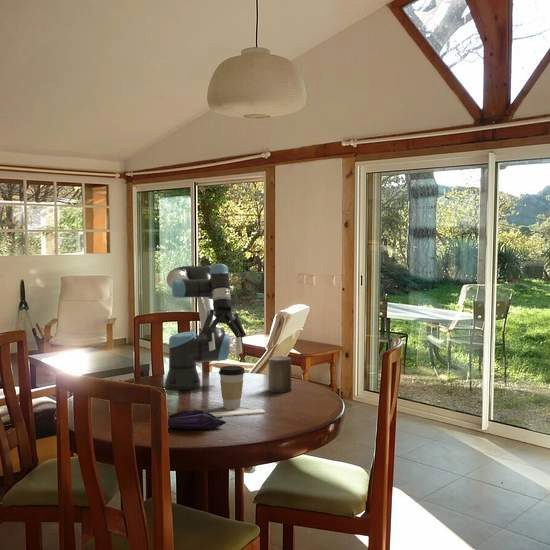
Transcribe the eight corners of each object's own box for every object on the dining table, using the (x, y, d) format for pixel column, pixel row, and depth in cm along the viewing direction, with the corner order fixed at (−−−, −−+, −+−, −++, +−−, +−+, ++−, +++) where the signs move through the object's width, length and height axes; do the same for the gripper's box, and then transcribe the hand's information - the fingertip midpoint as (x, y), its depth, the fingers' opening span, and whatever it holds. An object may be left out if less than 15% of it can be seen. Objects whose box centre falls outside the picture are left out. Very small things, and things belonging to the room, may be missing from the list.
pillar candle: (295, 390, 260) (295, 355, 259) (276, 393, 254) (276, 357, 254) (282, 386, 268) (282, 352, 268) (263, 389, 263) (263, 354, 262)
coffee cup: (248, 405, 237) (248, 366, 236) (238, 411, 227) (238, 371, 227) (225, 402, 240) (225, 364, 239) (214, 409, 231) (214, 369, 230)
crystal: (161, 414, 201) (222, 409, 201) (168, 408, 213) (226, 404, 212) (163, 436, 201) (224, 431, 200) (169, 429, 212) (227, 424, 212)
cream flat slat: (197, 415, 222) (197, 413, 222) (262, 410, 228) (262, 409, 228) (199, 418, 218) (199, 416, 218) (265, 413, 225) (265, 411, 225)
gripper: (202, 292, 238) (206, 345, 230) (251, 302, 255) (256, 352, 247) (190, 299, 243) (194, 351, 235) (239, 308, 259) (244, 357, 251)
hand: (226, 351), depth 241 cm, fingers open, 13 cm apart
